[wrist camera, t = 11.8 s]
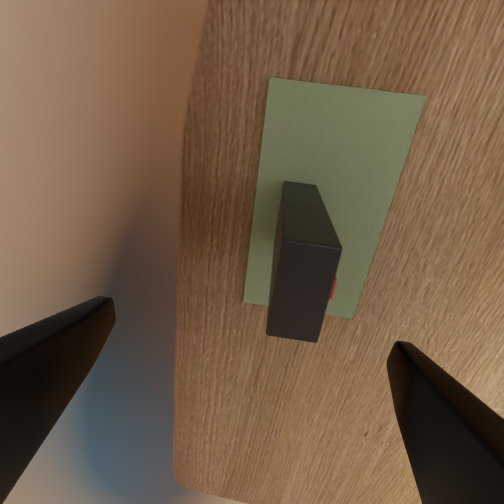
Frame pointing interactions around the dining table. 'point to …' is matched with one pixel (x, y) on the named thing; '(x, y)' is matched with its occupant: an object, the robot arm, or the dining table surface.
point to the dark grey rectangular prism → (302, 264)
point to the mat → (330, 173)
